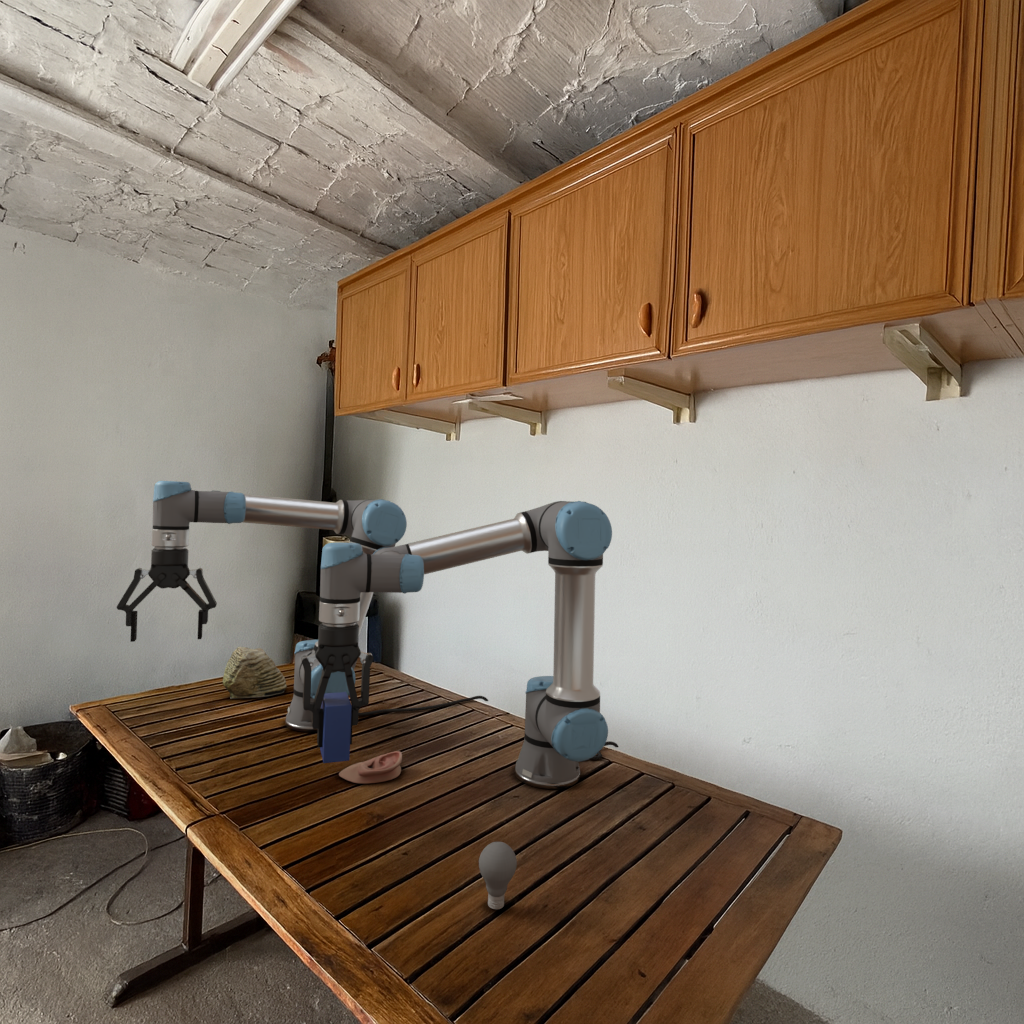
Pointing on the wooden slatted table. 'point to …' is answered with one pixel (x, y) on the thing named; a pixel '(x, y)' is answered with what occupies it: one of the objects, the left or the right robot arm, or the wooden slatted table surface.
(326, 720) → the block
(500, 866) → the light bulb
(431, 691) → the wooden slatted table surface
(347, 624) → the right robot arm
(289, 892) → the wooden slatted table surface
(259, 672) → the fossil
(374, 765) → the anatomical model
